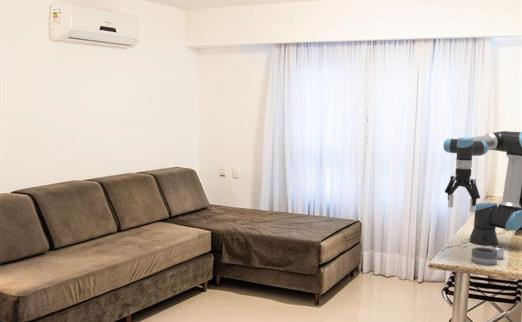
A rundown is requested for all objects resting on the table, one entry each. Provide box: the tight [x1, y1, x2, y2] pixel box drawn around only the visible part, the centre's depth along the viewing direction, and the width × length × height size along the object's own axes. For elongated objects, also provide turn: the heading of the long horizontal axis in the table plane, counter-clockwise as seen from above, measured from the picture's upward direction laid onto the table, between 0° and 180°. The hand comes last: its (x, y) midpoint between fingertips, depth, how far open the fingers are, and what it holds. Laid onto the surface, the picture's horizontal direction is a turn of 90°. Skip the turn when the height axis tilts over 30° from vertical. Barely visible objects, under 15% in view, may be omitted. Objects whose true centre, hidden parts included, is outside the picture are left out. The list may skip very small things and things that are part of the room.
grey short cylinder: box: [470, 246, 498, 267], centre depth 292 cm, size 12×12×6 cm
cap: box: [490, 244, 505, 261], centre depth 301 cm, size 6×6×6 cm
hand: (461, 209), depth 296 cm, fingers open, 13 cm apart
